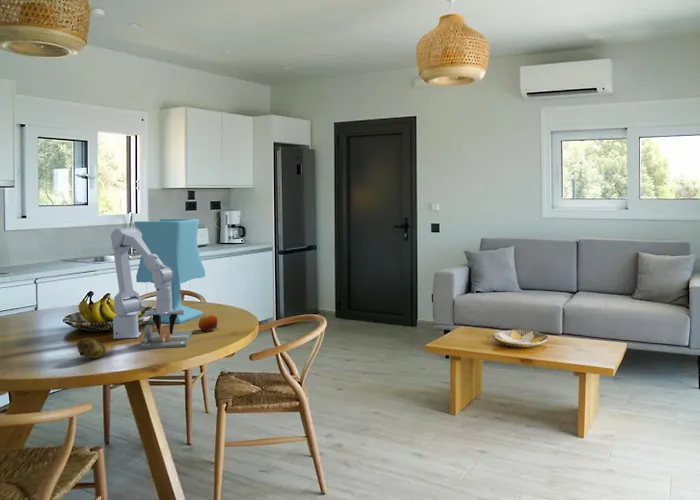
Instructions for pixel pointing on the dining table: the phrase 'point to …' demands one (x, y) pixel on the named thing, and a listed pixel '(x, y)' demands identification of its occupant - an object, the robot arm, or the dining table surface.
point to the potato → (91, 348)
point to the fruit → (208, 322)
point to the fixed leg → (148, 333)
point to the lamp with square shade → (173, 257)
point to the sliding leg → (165, 332)
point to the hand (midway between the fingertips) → (165, 334)
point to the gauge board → (175, 341)
